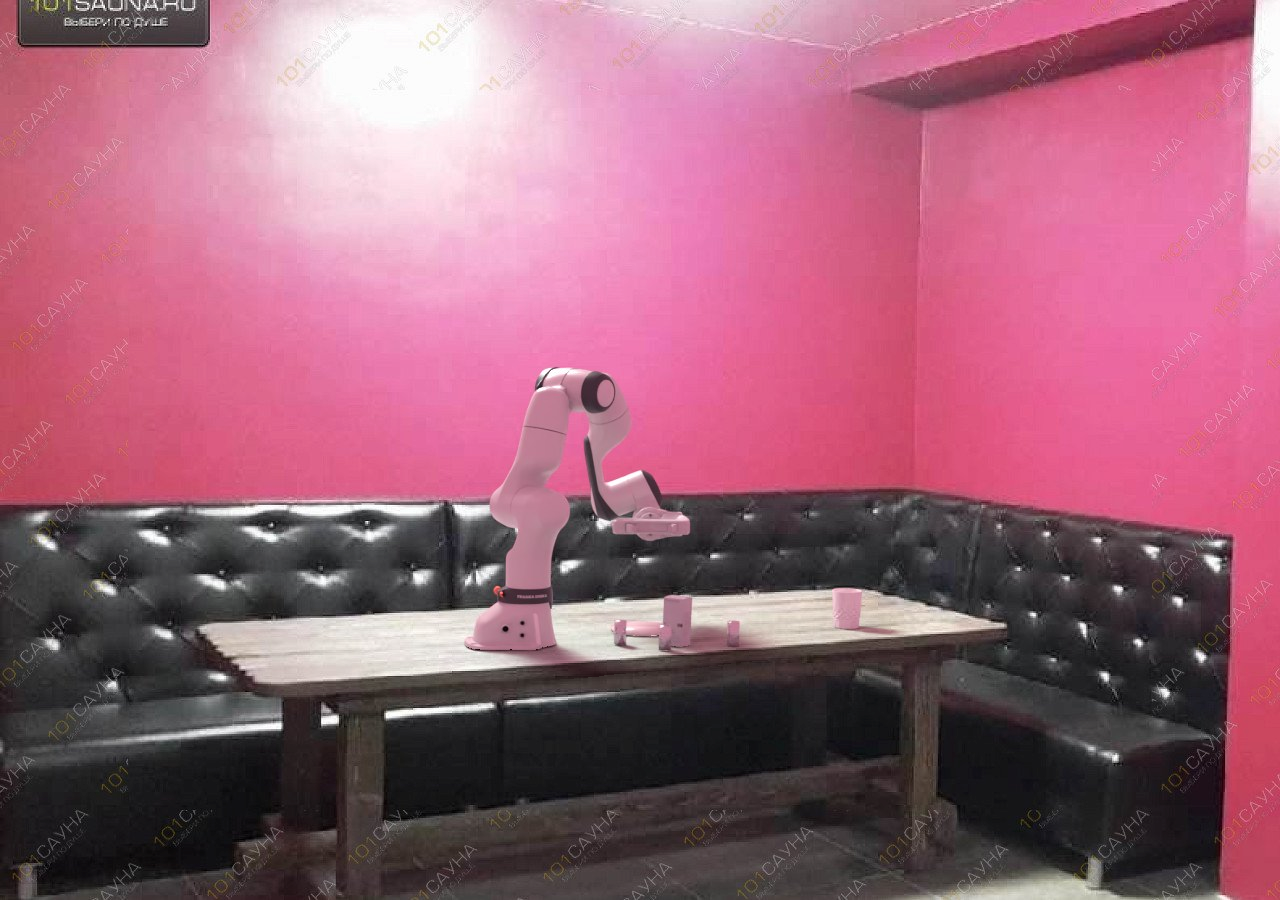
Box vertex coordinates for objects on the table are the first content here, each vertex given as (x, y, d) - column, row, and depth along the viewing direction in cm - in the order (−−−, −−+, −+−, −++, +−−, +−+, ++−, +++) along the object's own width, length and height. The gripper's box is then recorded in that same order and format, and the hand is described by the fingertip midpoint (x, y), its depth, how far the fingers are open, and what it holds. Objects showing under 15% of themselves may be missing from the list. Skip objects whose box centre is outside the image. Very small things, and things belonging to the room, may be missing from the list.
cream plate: (618, 637, 348) (618, 632, 348) (604, 626, 363) (604, 622, 363) (679, 635, 352) (679, 631, 352) (663, 624, 367) (663, 620, 367)
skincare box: (661, 645, 339) (662, 596, 338) (670, 642, 343) (671, 594, 342) (682, 648, 335) (683, 599, 335) (691, 645, 339) (692, 596, 339)
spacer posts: (623, 652, 329) (623, 627, 328) (612, 643, 340) (613, 619, 339) (744, 648, 336) (744, 624, 336) (729, 640, 347) (730, 616, 347)
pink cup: (840, 630, 363) (841, 593, 362) (826, 625, 370) (826, 588, 370) (866, 629, 366) (867, 591, 365) (851, 624, 373) (852, 587, 373)
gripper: (610, 511, 363) (611, 517, 349) (687, 511, 364) (691, 517, 350) (610, 535, 363) (611, 541, 349) (687, 535, 364) (691, 542, 350)
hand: (652, 529), depth 350 cm, fingers open, 8 cm apart
